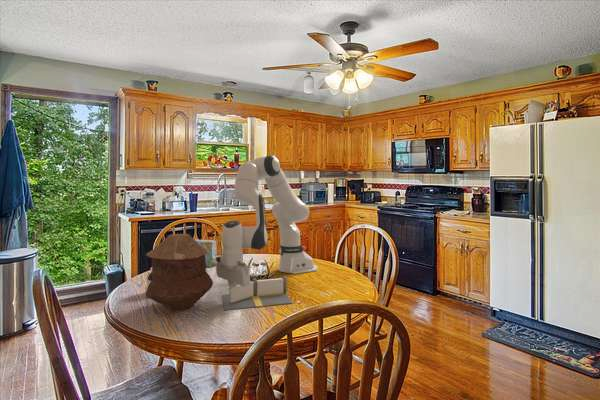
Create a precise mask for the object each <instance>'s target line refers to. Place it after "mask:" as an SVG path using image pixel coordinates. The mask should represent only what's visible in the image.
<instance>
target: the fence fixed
mask: <svg viewBox="0 0 600 400" xmlns="http://www.w3.org/2000/svg"><path fill="white" fill-rule="evenodd" d="M252 281H253V282H254V283H253V293H254V296H257V294H258V295H261V294H271V293H282V292H283V293H286V294H287V276H285V275H283V276H282V277H280V278H267V279H257V278H252Z"/></svg>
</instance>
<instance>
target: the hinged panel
mask: <svg viewBox="0 0 600 400" xmlns="http://www.w3.org/2000/svg"><path fill="white" fill-rule="evenodd" d="M253 283H254V282H253V280H250V284H249V285H247V286H240V285H237V286H233V287H228V291H229V292H228V294H229V302H230V303H233V302H236V301H239V300H242V299H245V298H248V297H251V296H254V293H253Z"/></svg>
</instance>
